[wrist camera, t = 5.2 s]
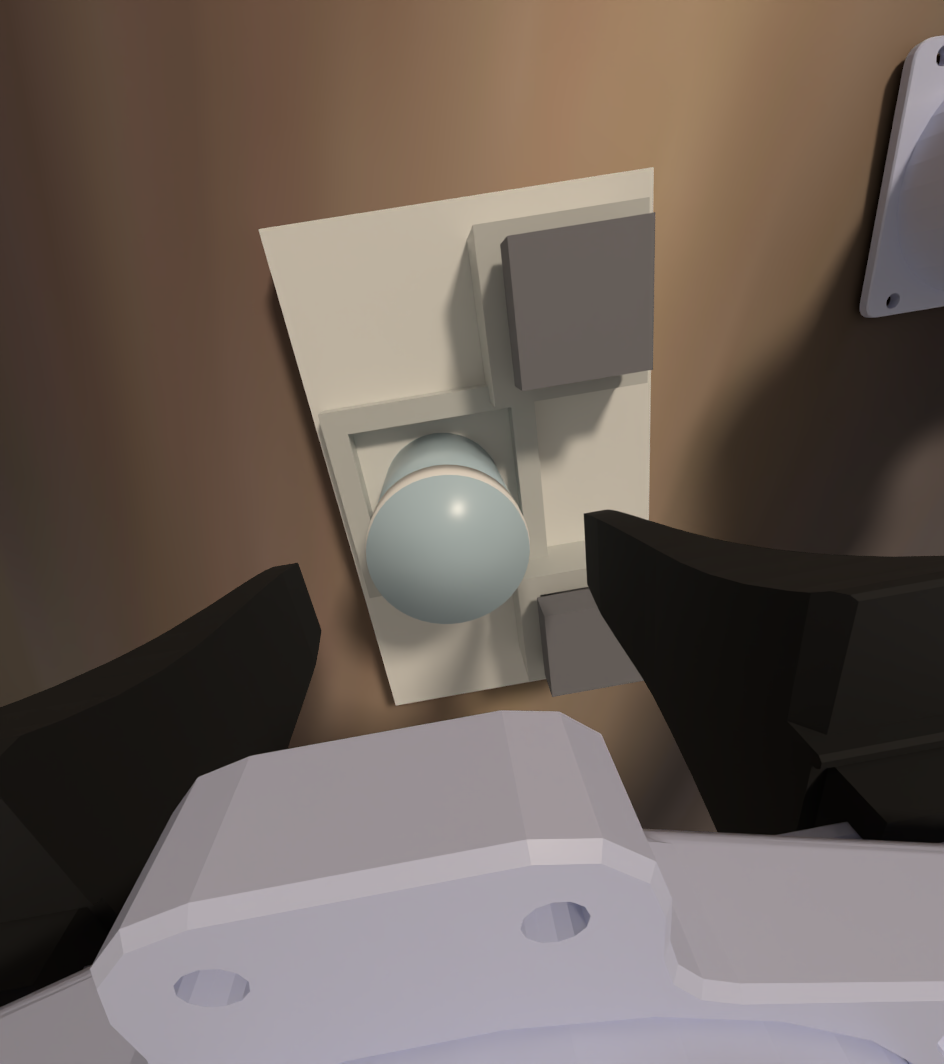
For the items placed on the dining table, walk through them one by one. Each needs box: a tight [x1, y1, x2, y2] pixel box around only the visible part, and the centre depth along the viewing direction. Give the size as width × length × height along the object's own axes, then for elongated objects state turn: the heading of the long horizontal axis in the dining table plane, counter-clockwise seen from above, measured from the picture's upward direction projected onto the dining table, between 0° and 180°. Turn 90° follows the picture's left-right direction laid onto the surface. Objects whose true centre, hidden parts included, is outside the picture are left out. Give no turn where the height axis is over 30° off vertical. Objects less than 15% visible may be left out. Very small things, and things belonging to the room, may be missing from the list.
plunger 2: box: [537, 587, 644, 697], centre depth 18 cm, size 4×4×3 cm
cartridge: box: [365, 433, 530, 624], centre depth 15 cm, size 4×4×6 cm
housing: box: [258, 167, 654, 705], centre depth 17 cm, size 12×19×4 cm, turn 8°
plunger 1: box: [500, 212, 655, 391], centre depth 13 cm, size 4×4×3 cm
